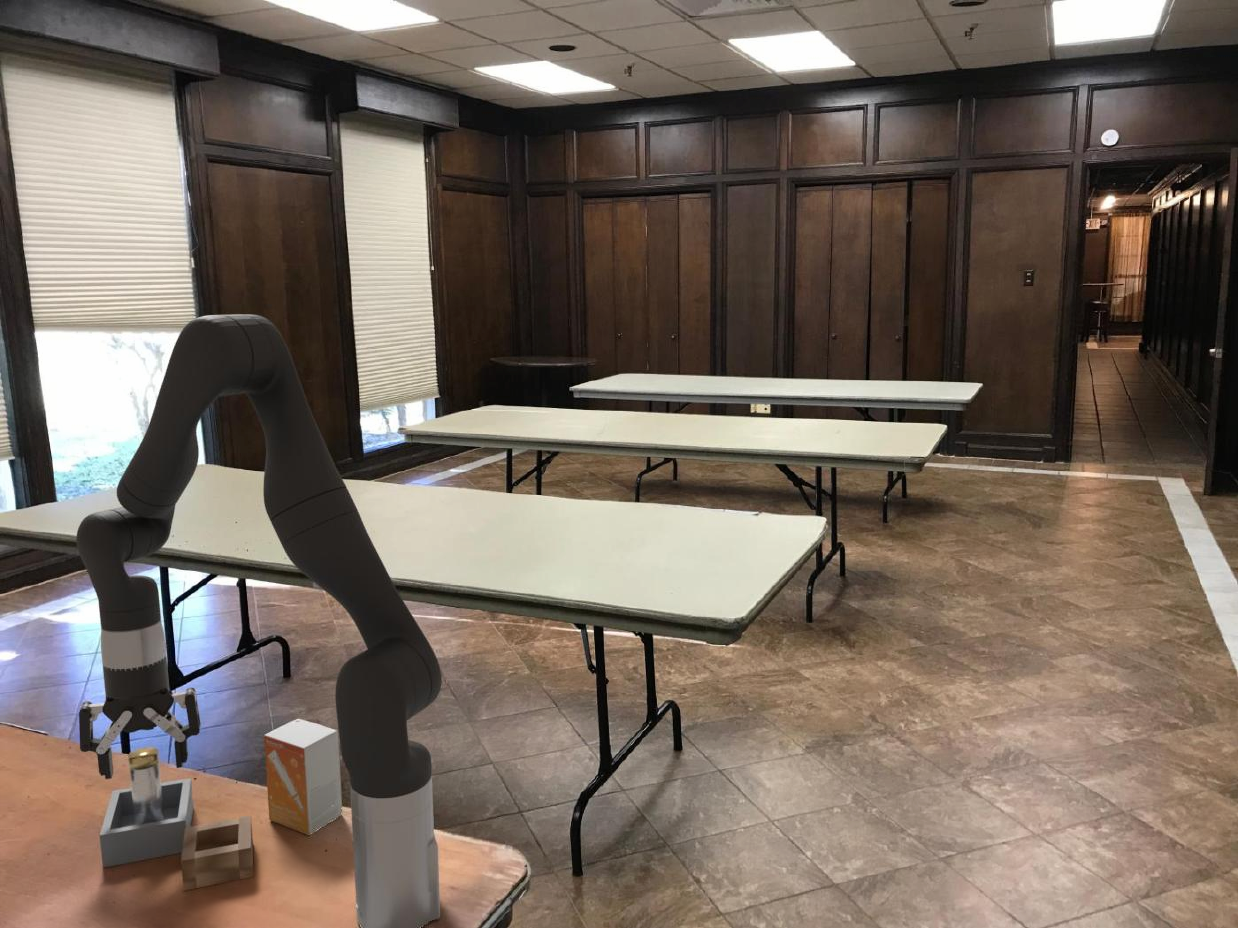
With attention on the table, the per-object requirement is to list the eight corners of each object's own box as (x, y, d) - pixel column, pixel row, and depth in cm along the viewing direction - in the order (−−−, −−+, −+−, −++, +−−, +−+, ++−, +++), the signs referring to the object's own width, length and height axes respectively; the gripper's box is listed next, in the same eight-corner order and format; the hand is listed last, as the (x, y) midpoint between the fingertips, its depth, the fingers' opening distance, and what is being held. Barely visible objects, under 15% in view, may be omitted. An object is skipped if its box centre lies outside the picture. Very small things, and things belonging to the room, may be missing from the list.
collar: (252, 843, 126) (250, 815, 125) (252, 876, 119) (250, 847, 118) (187, 855, 123) (185, 827, 123) (183, 890, 116) (181, 860, 115)
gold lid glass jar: (165, 819, 130) (159, 744, 128) (163, 832, 127) (156, 756, 125) (136, 824, 129) (129, 749, 127) (133, 838, 125) (126, 761, 124)
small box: (268, 821, 132) (262, 734, 129) (303, 800, 137) (298, 716, 135) (309, 837, 128) (303, 747, 125) (344, 815, 133) (339, 729, 131)
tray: (193, 806, 135) (191, 777, 135) (188, 851, 124) (185, 820, 123) (115, 820, 132) (112, 790, 131) (102, 867, 121) (99, 835, 120)
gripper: (67, 673, 118) (80, 793, 120) (191, 658, 123) (201, 773, 125) (77, 653, 125) (89, 767, 127) (195, 639, 130) (204, 749, 132)
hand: (145, 770), depth 126 cm, fingers open, 8 cm apart
